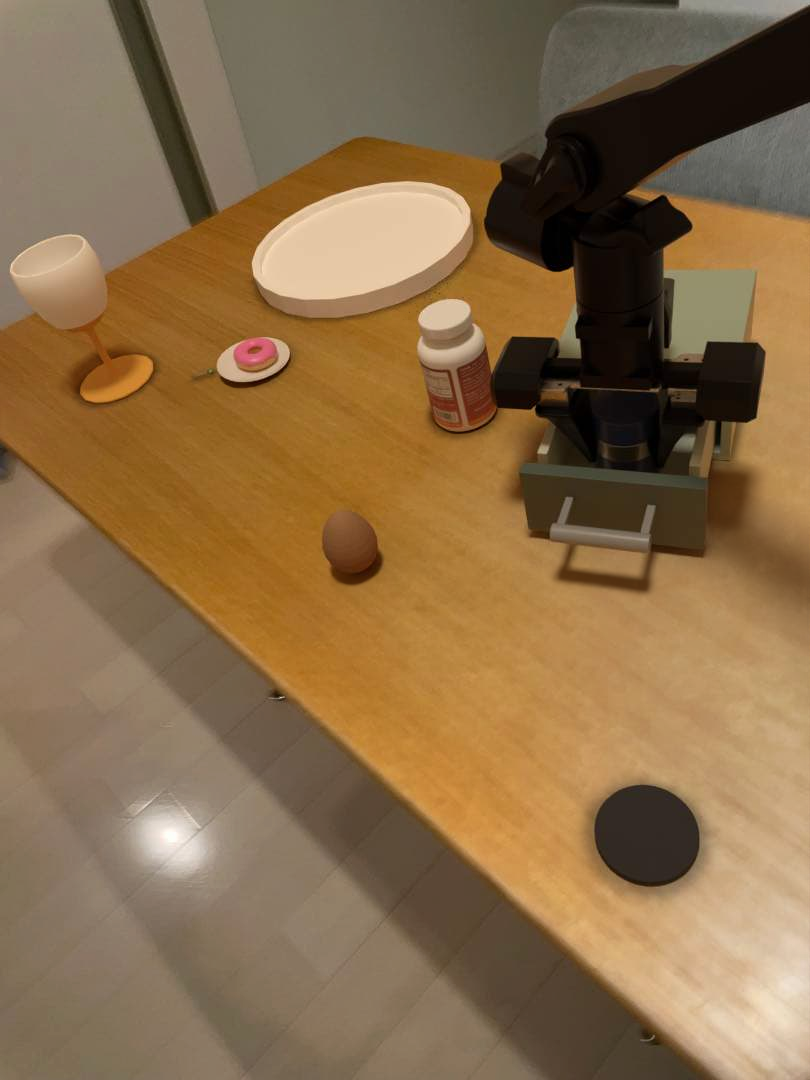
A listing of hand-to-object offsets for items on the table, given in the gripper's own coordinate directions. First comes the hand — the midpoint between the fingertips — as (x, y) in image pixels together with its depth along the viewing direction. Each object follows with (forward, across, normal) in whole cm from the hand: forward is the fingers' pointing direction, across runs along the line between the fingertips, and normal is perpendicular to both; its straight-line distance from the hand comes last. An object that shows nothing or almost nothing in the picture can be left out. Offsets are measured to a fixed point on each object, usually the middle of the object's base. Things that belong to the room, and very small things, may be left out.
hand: (627, 461), depth 68 cm
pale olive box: (+3, 0, -12) cm, 13 cm away
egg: (+4, +20, +12) cm, 23 cm away
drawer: (+2, 0, +1) cm, 3 cm away
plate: (+4, +40, -38) cm, 55 cm away
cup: (+3, +61, -10) cm, 62 cm away
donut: (+4, +45, -14) cm, 47 cm away
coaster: (+3, -6, +28) cm, 29 cm away
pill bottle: (+4, +17, -8) cm, 19 cm away
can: (+1, 0, 0) cm, 1 cm away
